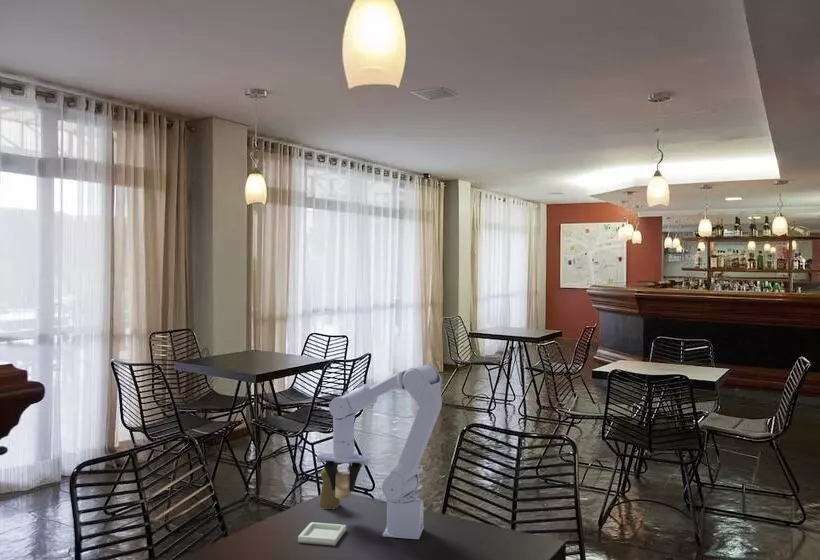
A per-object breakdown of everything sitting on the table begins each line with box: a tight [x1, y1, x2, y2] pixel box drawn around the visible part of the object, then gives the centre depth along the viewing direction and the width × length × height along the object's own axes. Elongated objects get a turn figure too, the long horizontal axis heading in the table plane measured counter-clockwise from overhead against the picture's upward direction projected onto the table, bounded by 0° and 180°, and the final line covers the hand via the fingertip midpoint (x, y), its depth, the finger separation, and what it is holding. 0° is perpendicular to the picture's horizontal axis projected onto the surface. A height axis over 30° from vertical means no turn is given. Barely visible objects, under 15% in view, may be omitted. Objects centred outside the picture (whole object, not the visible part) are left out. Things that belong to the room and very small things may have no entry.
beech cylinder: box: [335, 471, 352, 500], centre depth 173 cm, size 4×4×6 cm
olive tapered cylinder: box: [318, 467, 341, 510], centre depth 184 cm, size 6×6×11 cm
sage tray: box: [297, 521, 347, 547], centre depth 162 cm, size 10×10×2 cm
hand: (343, 489), depth 173 cm, fingers closed on beech cylinder, 4 cm apart
